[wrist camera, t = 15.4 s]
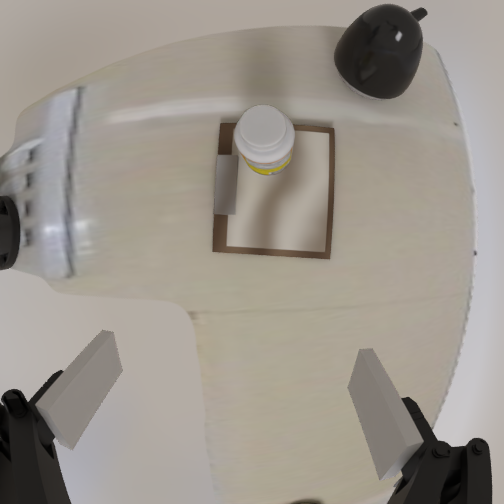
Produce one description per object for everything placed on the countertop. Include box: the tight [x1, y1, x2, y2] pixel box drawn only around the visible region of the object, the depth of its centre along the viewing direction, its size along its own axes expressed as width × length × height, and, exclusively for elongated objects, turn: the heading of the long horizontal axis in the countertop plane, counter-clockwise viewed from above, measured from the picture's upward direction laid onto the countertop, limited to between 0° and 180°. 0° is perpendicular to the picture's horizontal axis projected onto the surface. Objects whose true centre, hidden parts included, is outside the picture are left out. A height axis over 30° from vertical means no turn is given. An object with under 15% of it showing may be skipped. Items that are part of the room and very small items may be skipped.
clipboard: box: [213, 123, 335, 259], centre depth 31 cm, size 14×16×2 cm
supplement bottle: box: [234, 105, 295, 176], centre depth 25 cm, size 6×6×10 cm
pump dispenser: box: [334, 4, 427, 100], centre depth 21 cm, size 10×10×15 cm
